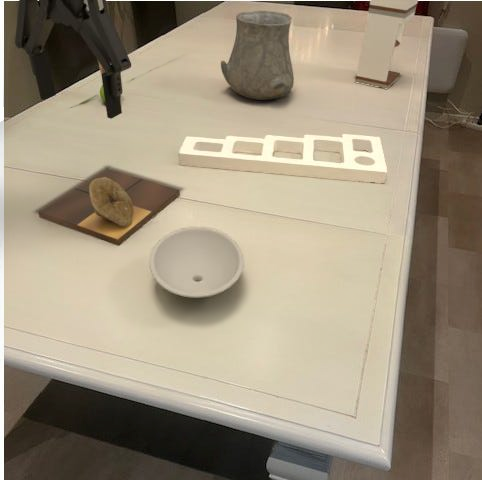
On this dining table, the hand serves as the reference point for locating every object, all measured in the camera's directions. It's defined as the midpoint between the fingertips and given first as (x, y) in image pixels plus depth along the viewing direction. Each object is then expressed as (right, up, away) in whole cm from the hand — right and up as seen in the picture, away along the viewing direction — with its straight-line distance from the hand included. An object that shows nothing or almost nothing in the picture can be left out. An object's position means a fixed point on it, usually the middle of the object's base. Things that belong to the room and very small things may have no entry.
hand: (80, 106), depth 78 cm
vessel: (+32, +29, +62) cm, 75 cm away
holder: (+36, +2, +33) cm, 49 cm away
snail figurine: (-9, +23, +53) cm, 58 cm away
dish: (+19, -29, -1) cm, 35 cm away
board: (+1, -13, +15) cm, 20 cm away
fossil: (+3, -17, +9) cm, 19 cm away
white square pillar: (+69, +39, +75) cm, 109 cm away
